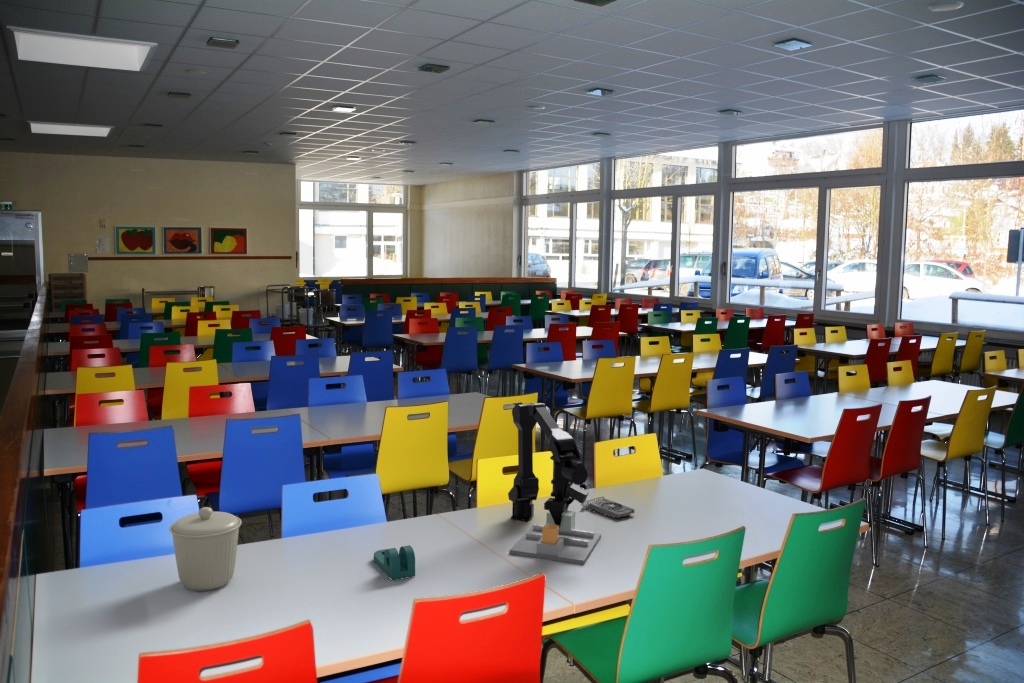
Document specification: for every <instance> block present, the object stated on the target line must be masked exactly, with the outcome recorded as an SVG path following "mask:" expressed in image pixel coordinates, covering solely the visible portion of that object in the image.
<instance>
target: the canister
mask: <svg viewBox="0 0 1024 683" xmlns="http://www.w3.org/2000/svg"><path fill="white" fill-rule="evenodd" d="M213 510H214V509H212V508H211V507H210V506H209V507H208V506H204V507H201V508H200V509H199V510H198V512H196V513H192V514H187V515H185V516H183V517H181V518H179V519H177V520H176V521H174V522H173V523H172V524H170V526H169V529H168V531H169V533H171V534H172V542H173V548H174V555H175V562H176V567H177V574H178V578H179V582H180V583H181V585H182V586H183V587H184V588H186V589H187V590H190V591H191V590H192V591H195V592H196V591H199V592H201V591H202V592H203V591H210V590H216V589H219V588H221V587H224V586H226V585H227V584H228V583H229V582H231V580H232V578H233V576H234V573H235V570H236V569H235V568H236V567H235V566H236V561H237V560H236V558H237V551H238V542H239V532H240V531H239V530H240V527H241V525H242V519H241V518H240V517H239V516H236V515H234V514H232V513H229V512H225V511H213Z"/></svg>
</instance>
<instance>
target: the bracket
mask: <svg viewBox="0 0 1024 683" xmlns="http://www.w3.org/2000/svg"><path fill="white" fill-rule="evenodd" d="M373 562H375V563H376V564H377V565H378V566H379V567H380V568H381V569H382V570H383V571H384V572H385V573H386V574H387V575H388V576H389V577H390V578H391V579H392V580H394V581H397V580H396V579H400V580H402V579H401V578H405V579H407V578H406V577H410V578H413V577H412V576H415V577H416V555H415V551H414V549H413V547H412V545H403V546H400V548H399V550H397V548H396V547H392V548H386V549H384V548H383V549H379V550H376V551H374V552H373ZM375 563H374V564H375ZM376 564H375V565H376ZM377 565H376V566H377ZM379 567H378V568H379ZM380 568H379V569H380ZM381 569H380V570H381ZM382 570H381V571H382ZM383 571H382V572H383ZM384 572H383V573H384ZM385 573H384V574H385ZM386 574H385V575H386ZM387 575H386V576H387ZM388 576H387V577H388ZM389 577H388V578H389ZM390 578H389V579H390ZM391 579H390V580H391ZM392 580H391V581H392Z"/></svg>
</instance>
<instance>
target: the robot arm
mask: <svg viewBox="0 0 1024 683" xmlns="http://www.w3.org/2000/svg"><path fill="white" fill-rule="evenodd" d="M511 415H512V422H513V424H514V425H515V427H516V428H517V432H518V433H517V442H518V443H517V447H518V448H517V453H518V454H517V455H518V458H517V460H518V464H517V465H518V469H517V470H518V472H517V473H516V475H515V476H514V479H513V485H512V488H511V489H510V490H509V492H507V496H508V500H509V501H511V502H512V508H511V509H512V510H511V511H512V515H511V516H510V519H512V520H520V521H527V522H529V521H531V519H532V518H533V517H534V514H535V513H534V511H535V510H534V508H535V504H534V503H533V501H537V498H538V494H539V491H540V488H539V487H540V485H539V484H540V483H539V482H540V481H539V477H536V475H535V473H534V470H533V469H534V468H533V466H534V465H533V464H534V463H533V460H534V458H533V457H534V455H533V454H534V452H533V449H534V446H533V439H534V438H533V437H534V436H533V432H534V431H533V430H534V428H535V427H536V424H537V425H538V426H539V427H540V429H541V430H542V432H543V433H544V435H545V437H546V438H547V440H548V442H547V443H548V444H547V446H548V448H549V450H550V453H551V455H550V457H549V459H550V460H552V461H553V462H552V463H553V464H552V479H551V480H550V484H552V491H551V492H550V497H549V498H548V499H547V500H545V502H543V509H544V510H545V511H549V512H550V514H551V516H552V518H553V520H554V522H555V525H559V527H560V525H561V520H562V515H563V512H564V511H565V510H568V511H569V506H570V505H571V504H572V503H573V502H574V501H577V502H578V503H579V504H581V503H584V502H585V501H587V497H588V496H589V493H590V490H589V489H588V484H587V483H586V481H587V479H588V477H589V473H588V470H587V468H586V467H585V466H583V465H584V464H583V462H581V460H582V459H581V453H580V451H579V448H578V446H577V443H576V441H575V439H574V438H573V437H572V435H570V433H569V432H568V431H564V430H562V429H561V428H560V426H559V425H558V424H557V422H556V420H555V419H554V418H553V417H552V416H553V415H551V414H550V412H549V411H548V409H547V406H546V404H545V403H543V402H535V403H533V402H530V403H518V404H514V406H513V407H512V410H511ZM585 503H586V502H585Z"/></svg>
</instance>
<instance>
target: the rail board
mask: <svg viewBox="0 0 1024 683" xmlns="http://www.w3.org/2000/svg"><path fill="white" fill-rule="evenodd" d="M544 526H545V525H544V524H535V523H534V524H532V525H531V526H529V528H528V529H527V530H526V531H525V533H524V534H523V535H521V537H520V538H519V539H518V540H517V541H516V542H515V543H514V544H513V546H512V547H511V548H510V549H509V555H516V556H524V557H530V558H536V559H537V558H538V559H544V560H551V561H558V562H565V563H571V564H577V565H585V563H586V562H587V560H588V559H589V558H590V556H591V554H592V553H593V551H594V549H595V548H596V547H597V545H598V543H599V542H600V539H601V538H602V533H598V532H595V531H588V530H581V529H574V528H573V530H572V531H571V532H568V531H561V530H559V538H558V542H557V543H556V545H555V544H548V543H542V528H543V527H544Z"/></svg>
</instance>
